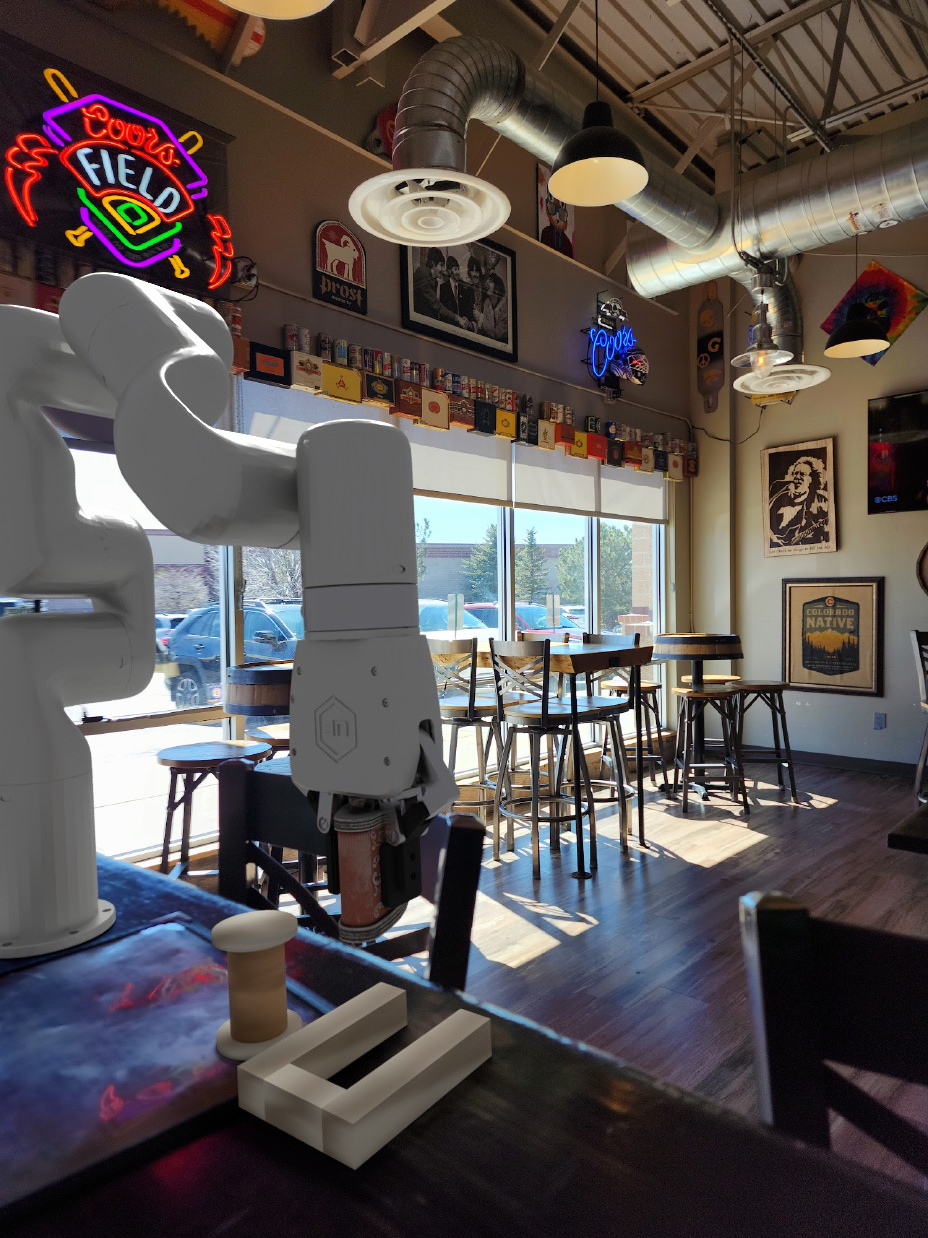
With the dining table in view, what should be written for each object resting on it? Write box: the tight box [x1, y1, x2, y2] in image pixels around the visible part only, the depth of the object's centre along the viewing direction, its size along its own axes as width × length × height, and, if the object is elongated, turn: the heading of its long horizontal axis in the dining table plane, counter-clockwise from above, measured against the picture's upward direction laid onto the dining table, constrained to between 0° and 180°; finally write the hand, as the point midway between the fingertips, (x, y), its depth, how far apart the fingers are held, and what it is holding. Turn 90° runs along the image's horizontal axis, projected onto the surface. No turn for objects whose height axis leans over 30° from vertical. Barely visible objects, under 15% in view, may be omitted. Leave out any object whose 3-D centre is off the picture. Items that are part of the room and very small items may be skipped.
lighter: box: [334, 794, 410, 944], centre depth 51 cm, size 8×3×10 cm, turn 167°
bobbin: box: [210, 909, 303, 1061], centre depth 57 cm, size 6×6×8 cm
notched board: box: [236, 981, 493, 1171], centre depth 51 cm, size 10×13×2 cm
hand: (374, 892), depth 51 cm, fingers closed on lighter, 4 cm apart
